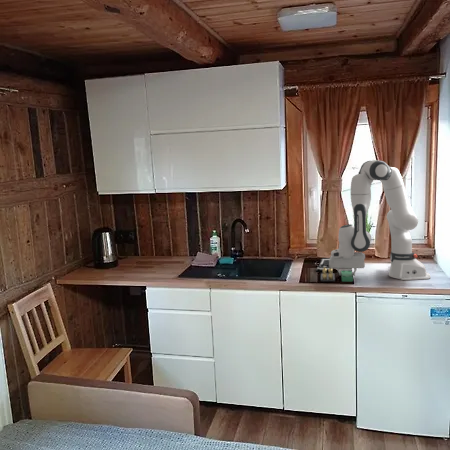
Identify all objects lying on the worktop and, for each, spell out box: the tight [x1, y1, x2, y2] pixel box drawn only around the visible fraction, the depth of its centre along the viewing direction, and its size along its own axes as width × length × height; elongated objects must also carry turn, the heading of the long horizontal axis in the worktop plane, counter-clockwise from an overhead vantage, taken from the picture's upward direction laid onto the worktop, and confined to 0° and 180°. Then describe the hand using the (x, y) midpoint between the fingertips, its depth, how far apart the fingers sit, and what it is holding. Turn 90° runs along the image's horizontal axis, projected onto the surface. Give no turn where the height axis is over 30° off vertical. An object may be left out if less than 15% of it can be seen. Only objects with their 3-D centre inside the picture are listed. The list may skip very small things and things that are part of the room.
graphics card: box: [315, 258, 334, 273], centre depth 297 cm, size 10×3×25 cm
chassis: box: [320, 267, 336, 282], centre depth 273 cm, size 8×13×5 cm, turn 168°
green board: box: [340, 270, 354, 282], centre depth 271 cm, size 6×14×2 cm, turn 168°
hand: (346, 275), depth 271 cm, fingers closed on green board, 6 cm apart
